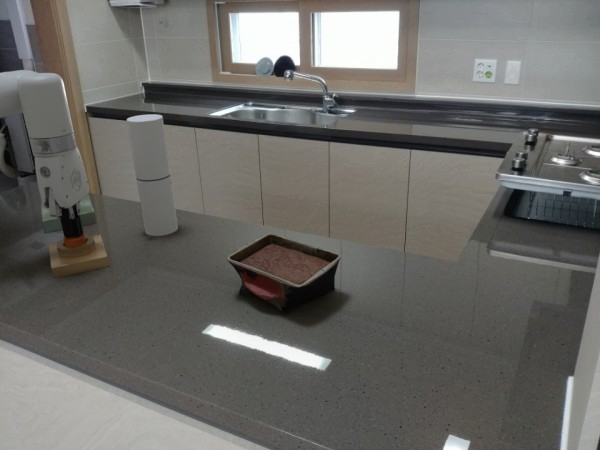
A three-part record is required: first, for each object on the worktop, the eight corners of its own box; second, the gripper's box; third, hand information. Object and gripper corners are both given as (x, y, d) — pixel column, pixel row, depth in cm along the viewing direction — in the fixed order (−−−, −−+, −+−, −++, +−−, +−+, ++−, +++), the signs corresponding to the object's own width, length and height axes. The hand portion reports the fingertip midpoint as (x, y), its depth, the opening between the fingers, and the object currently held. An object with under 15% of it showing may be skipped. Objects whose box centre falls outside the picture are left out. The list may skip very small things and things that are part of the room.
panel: (43, 213, 132) (40, 201, 131) (90, 205, 136) (88, 193, 135) (45, 233, 120) (42, 220, 119) (96, 223, 125) (94, 210, 123)
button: (64, 243, 107) (62, 234, 106) (85, 239, 108) (83, 229, 107) (65, 251, 103) (63, 241, 102) (87, 246, 105) (85, 237, 104)
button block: (51, 254, 110) (46, 236, 109) (102, 243, 114) (98, 226, 112) (53, 278, 100) (49, 259, 98) (109, 266, 104) (105, 247, 102)
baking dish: (288, 338, 83) (296, 283, 79) (216, 286, 93) (219, 235, 89) (346, 306, 93) (356, 256, 89) (275, 262, 103) (281, 215, 99)
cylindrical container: (139, 235, 117) (119, 121, 107) (154, 222, 124) (137, 114, 114) (169, 237, 116) (152, 122, 106) (183, 224, 122) (168, 114, 112)
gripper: (52, 154, 90) (74, 252, 98) (91, 133, 104) (108, 220, 111) (10, 155, 91) (35, 252, 98) (54, 134, 105) (73, 220, 112)
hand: (74, 235), depth 105 cm, fingers closed
